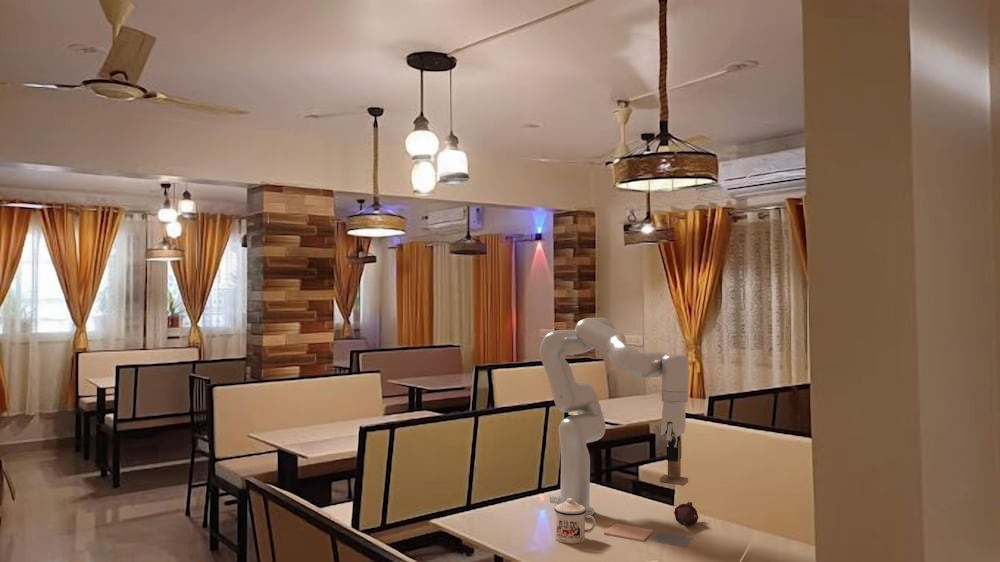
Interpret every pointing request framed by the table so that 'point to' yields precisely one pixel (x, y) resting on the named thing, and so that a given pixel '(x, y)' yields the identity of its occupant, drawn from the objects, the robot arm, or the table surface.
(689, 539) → the mat
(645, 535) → the tile
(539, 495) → the table surface
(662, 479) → the wooden post with base
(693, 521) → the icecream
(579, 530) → the teacup with lid
